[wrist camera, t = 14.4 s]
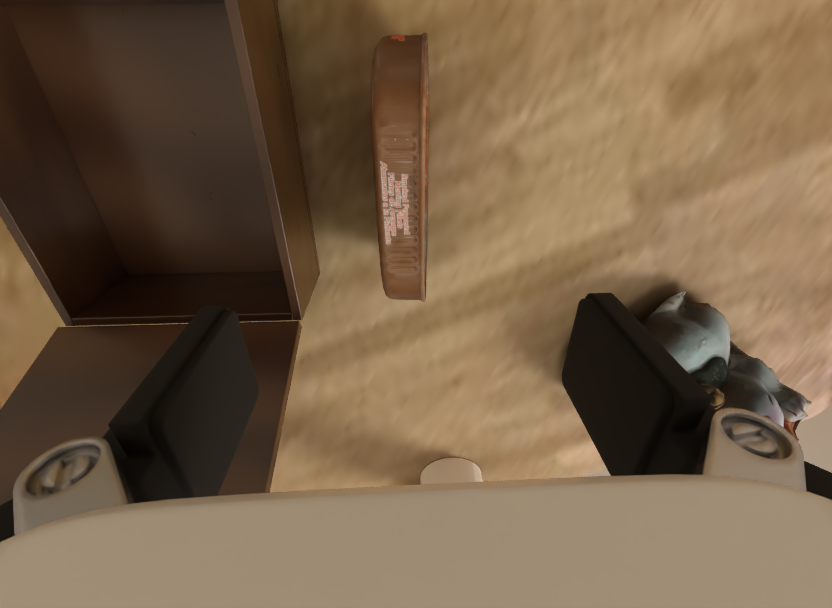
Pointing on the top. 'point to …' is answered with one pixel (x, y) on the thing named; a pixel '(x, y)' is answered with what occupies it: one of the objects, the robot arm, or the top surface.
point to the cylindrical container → (450, 472)
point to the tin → (401, 162)
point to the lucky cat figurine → (723, 362)
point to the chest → (154, 159)
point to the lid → (117, 380)
